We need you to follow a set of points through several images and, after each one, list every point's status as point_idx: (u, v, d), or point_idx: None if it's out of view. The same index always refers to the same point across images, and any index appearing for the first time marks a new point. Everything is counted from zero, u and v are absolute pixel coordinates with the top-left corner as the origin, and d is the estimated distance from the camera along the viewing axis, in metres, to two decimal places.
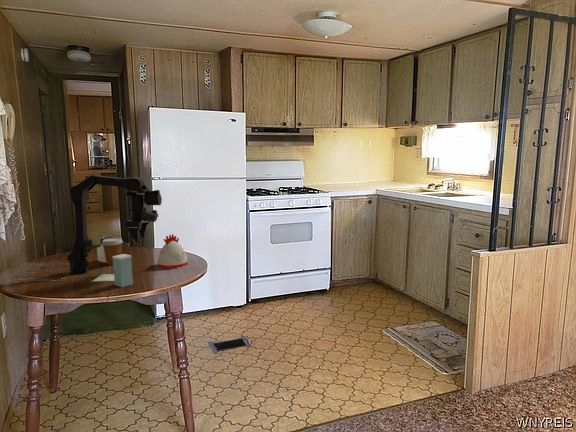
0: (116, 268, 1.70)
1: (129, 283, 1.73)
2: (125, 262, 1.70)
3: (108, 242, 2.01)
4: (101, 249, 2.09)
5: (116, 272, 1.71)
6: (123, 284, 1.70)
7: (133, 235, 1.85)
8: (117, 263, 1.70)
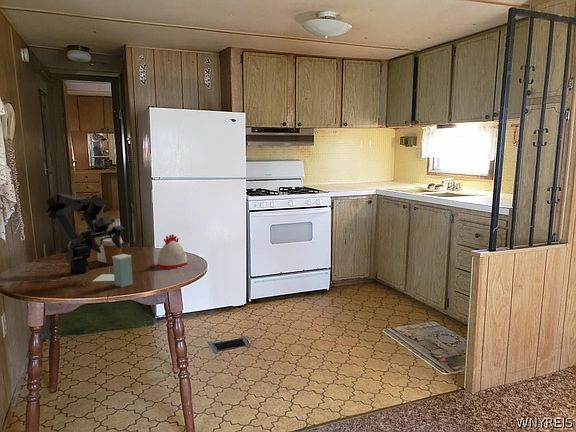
0: (116, 268, 1.70)
1: (129, 283, 1.73)
2: (125, 262, 1.70)
3: (108, 242, 2.01)
4: (101, 249, 2.09)
5: (116, 272, 1.71)
6: (123, 284, 1.70)
7: (93, 248, 1.73)
8: (117, 263, 1.70)
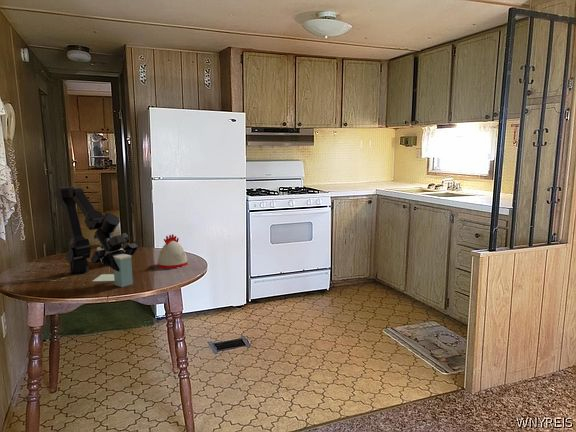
0: None
1: (129, 283, 1.72)
2: (125, 262, 1.70)
3: None
4: (101, 249, 2.09)
5: (116, 272, 1.71)
6: (123, 284, 1.70)
7: (112, 266, 1.70)
8: (117, 263, 1.70)
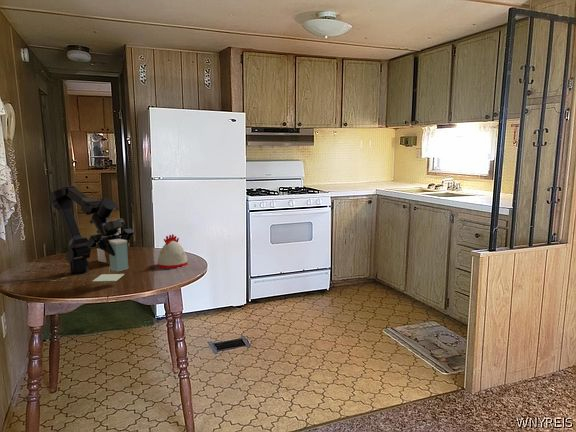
0: None
1: (124, 268, 1.74)
2: (121, 246, 1.71)
3: None
4: (101, 249, 2.09)
5: (112, 257, 1.72)
6: (118, 269, 1.71)
7: (107, 251, 1.71)
8: (112, 248, 1.71)
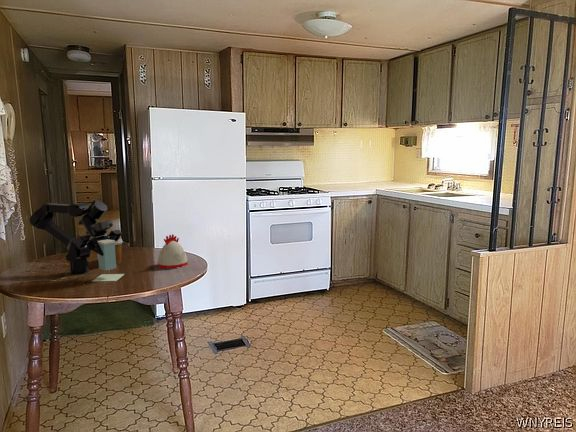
0: None
1: (113, 267, 1.81)
2: (109, 246, 1.79)
3: None
4: None
5: (100, 256, 1.80)
6: (107, 268, 1.79)
7: (96, 250, 1.79)
8: (101, 248, 1.79)
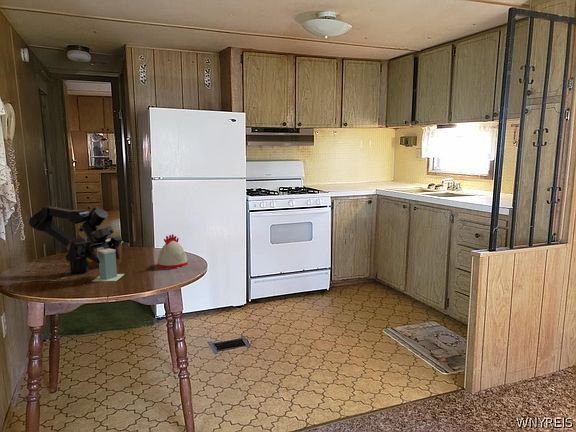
0: (101, 262, 1.80)
1: (113, 276, 1.82)
2: (109, 256, 1.80)
3: None
4: (101, 249, 2.09)
5: (101, 265, 1.80)
6: (108, 277, 1.80)
7: (92, 258, 1.78)
8: (101, 257, 1.79)
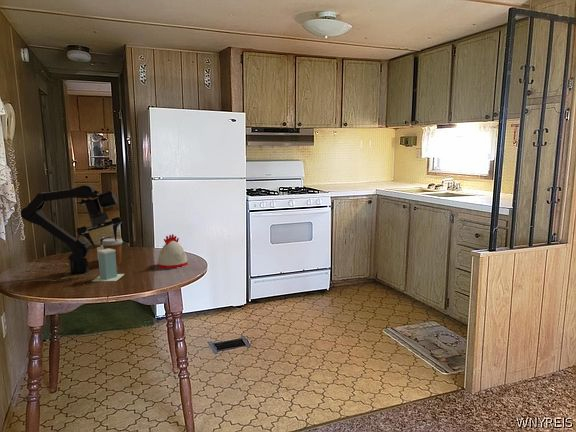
0: (101, 262, 1.80)
1: (113, 276, 1.82)
2: (109, 256, 1.80)
3: (108, 242, 2.01)
4: (101, 249, 2.09)
5: (101, 265, 1.80)
6: (108, 277, 1.80)
7: (89, 241, 1.87)
8: (101, 257, 1.79)
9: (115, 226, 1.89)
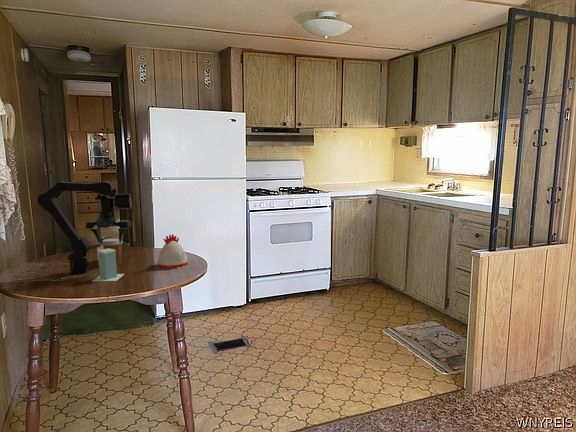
0: (101, 262, 1.80)
1: (113, 276, 1.82)
2: (109, 256, 1.80)
3: (108, 242, 2.01)
4: (101, 249, 2.09)
5: (101, 265, 1.80)
6: (108, 277, 1.80)
7: None
8: (101, 257, 1.79)
9: (120, 230, 1.90)
